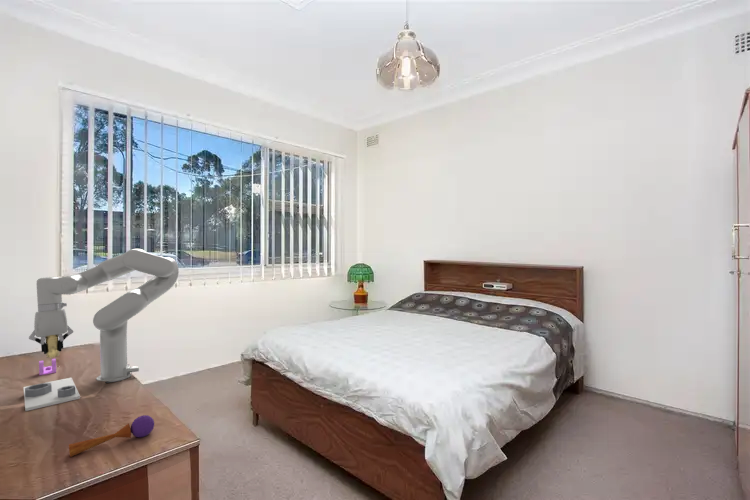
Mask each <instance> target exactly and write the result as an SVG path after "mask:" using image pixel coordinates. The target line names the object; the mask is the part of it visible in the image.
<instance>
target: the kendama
mask: <svg viewBox="0 0 750 500" xmlns="http://www.w3.org/2000/svg"><path fill="white" fill-rule="evenodd" d="M154 427H155V420H154V418H153V417H152V416H150V415H147V414H146V415H144V414H143V415H139V416H137V417H136V418H135V419H134V420H133V421H132V423H131V424H130V423H129V422H127V424H125V425H124V426H122V427H121V428H120V429H119V430H118V431H116V432H115V433H112V434H107V435H103V436H99V437H95V438H90V439H85V440H83V441H77V442H73V443H69V444H68V452H69V458H72V457H74V456H77V455H78V454H81V453H83V452H86V451H88V450H91V449H92V448H94V447H97V446H100V445H102V444H104V443H105V442H108V441H110V440H113V439H115V438H122V439H127V438H128V439H131V438H132V436H134V437H136V438H144V437H146V436H149V434H150V433H152V431H153V429H154Z"/></svg>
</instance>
